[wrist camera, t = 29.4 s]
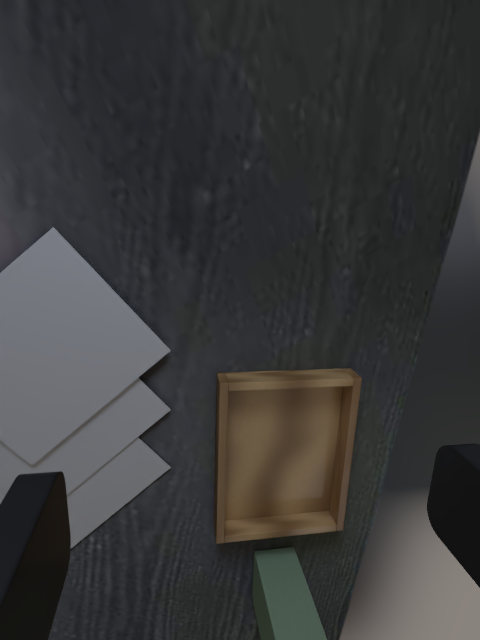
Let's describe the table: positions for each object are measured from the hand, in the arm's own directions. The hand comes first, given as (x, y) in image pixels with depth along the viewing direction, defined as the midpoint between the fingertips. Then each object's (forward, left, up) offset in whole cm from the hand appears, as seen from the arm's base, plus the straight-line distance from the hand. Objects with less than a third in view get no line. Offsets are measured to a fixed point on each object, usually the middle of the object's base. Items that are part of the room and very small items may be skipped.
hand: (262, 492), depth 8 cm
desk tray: (+9, -18, -28) cm, 35 cm away
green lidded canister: (+9, -34, -28) cm, 45 cm away
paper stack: (-13, -13, -28) cm, 34 cm away
